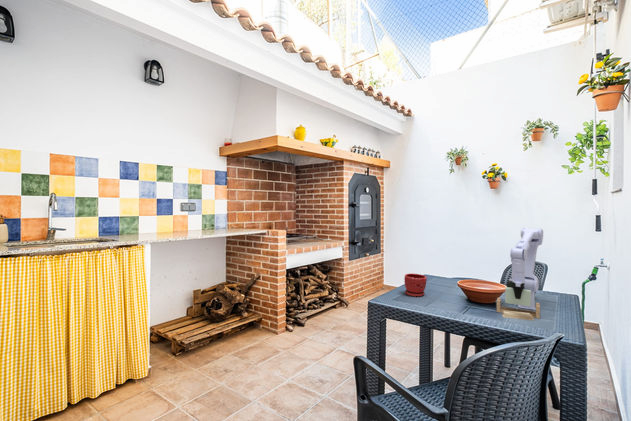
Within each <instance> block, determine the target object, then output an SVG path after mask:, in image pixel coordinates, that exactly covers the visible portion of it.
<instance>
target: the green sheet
mask: <svg viewBox="0 0 631 421" xmlns="http://www.w3.org/2000/svg"><path fill="white" fill-rule="evenodd" d="M504 291H505V293H504V294H505V296H504V300H505V302H504V303H505V304H508V305H516V306H518V305H523V306H530V307H531V290H527V289H523V291H522V294H521V298H520V299H515V294H514V290H513V288H511V287H507V286H506V287H505V290H504Z"/></svg>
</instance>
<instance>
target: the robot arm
mask: <svg viewBox="0 0 631 421" xmlns="http://www.w3.org/2000/svg"><path fill="white" fill-rule="evenodd" d="M520 238H521V239H519V240H518V241H517V243H516V245H515V246H514V247H513V248H511V249H510V252H509V253H510V255H509V256H510V262H511V277H512V279H510V278H509V279H508V281H512V288H513V290H514V294H515V299H520V298H521V294H522V291H523V289H527V290H531V307H530V306H523V305H517V308H518V309H524V310H531V311H536V302H535V299H536V298H535V295H536V293H537V292H538V291H539V287H540V285H539V283H540V282H539V278H538V276H536V275H535V274H534V272H535V266H536V259H537V258H536V257H537V252H538V249H539V246H541V245H542V244H543V241H544V230H543V229H542V228H534V227H533V228H531V227H522V228H521V229H520ZM535 292H536V293H535Z"/></svg>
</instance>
